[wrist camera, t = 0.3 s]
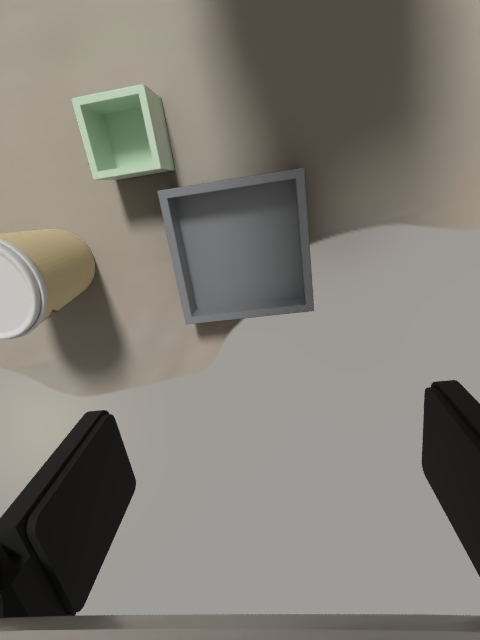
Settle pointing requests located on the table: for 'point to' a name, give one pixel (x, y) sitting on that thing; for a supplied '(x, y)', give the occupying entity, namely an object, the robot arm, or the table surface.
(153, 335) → the table surface
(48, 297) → the coffee cup
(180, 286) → the large crate
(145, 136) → the box
